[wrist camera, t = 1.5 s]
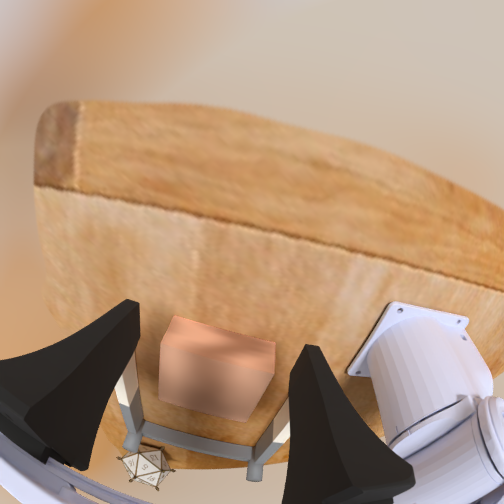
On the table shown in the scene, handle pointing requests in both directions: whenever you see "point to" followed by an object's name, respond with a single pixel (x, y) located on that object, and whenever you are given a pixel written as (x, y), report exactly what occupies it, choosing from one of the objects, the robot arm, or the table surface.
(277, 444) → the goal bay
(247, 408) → the sliding block
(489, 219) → the table surface
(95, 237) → the table surface
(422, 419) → the robot arm
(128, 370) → the lane walls
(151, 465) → the game die
